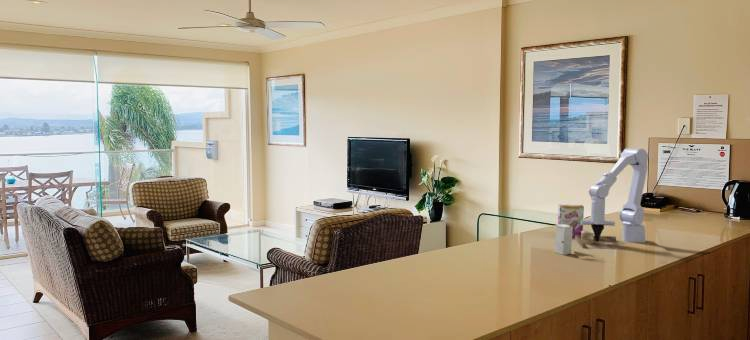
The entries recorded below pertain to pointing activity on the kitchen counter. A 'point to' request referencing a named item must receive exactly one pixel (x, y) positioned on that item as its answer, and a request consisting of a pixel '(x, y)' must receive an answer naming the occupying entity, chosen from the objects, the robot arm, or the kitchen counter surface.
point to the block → (587, 237)
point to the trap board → (601, 243)
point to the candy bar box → (571, 217)
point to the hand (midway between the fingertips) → (597, 241)
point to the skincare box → (563, 239)
